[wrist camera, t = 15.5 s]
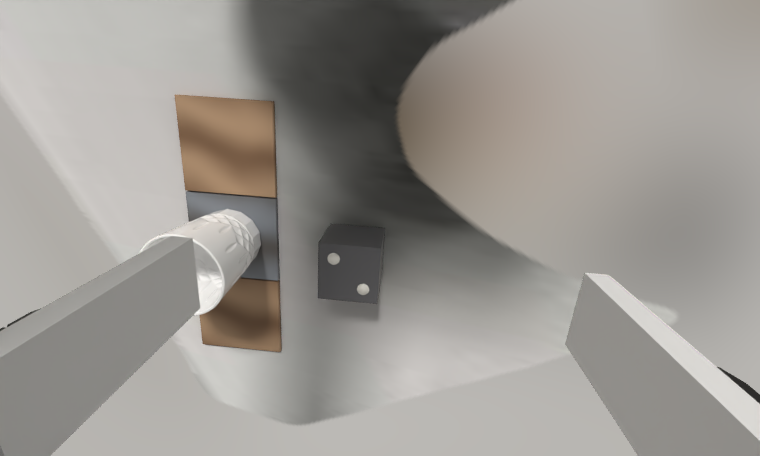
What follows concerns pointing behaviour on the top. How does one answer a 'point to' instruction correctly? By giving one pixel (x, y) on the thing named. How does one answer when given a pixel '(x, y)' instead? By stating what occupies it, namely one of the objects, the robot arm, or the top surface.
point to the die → (350, 263)
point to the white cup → (217, 252)
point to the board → (236, 207)
